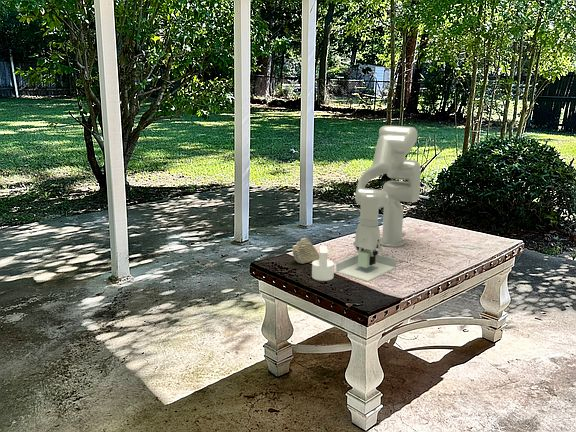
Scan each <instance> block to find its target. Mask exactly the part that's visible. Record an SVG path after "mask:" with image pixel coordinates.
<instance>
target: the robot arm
mask: <svg viewBox="0 0 576 432" xmlns="http://www.w3.org/2000/svg"><path fill="white" fill-rule="evenodd" d="M378 136H379V137H378V139H377V142H376V147H375V151H374V155H373V160H372V165H371V166H370V167H369V168H367V169H366V170H365V171H364V172H363V173H362V175H361V176H360V177H359V179H358V181H357V184H356V190H355V195H354V198H355V199H354V200H355V203H356V204H357V205H359V206H360V211H359V212H360V213H359V215H360V216H359V217H357V221H359V223H358V224H357V226H356V231H355V238H354V239H355V240H354V242H353V243H352V245H353V246H354V248H356V250H357V253H358V252H360V251H362V250H365V249H367V250H370V253H371V256H370V263H369V265H373V264H375V256H376V255H377V254H380V253H381V252H383V248H382V246H385V247H389V248H398V247H400V248H401V247H402V246H405V241H404V239H403V237H406V233H405V232H403V221H404V220H403V219H404V207H403V205H402V203H401V202H407V203H416V202H418V201H419V198H420V194H421V193H420V192H421V191H420V190H421V171H422V169H421V165H420V163H419V162H418V160H411V159H406V155H408V154H409V153H410V152H411V151H412V149H413V147H414V146H415V144H416V142H417V139H418V131H417V129H416V128H415V127H413V126H403V125H383V126H381V127H380V128H379V130H378ZM385 174H386V176H387V177H388V178H389V179H392V180H387V181H386V182H385V183H384V184H383V187H382V189H375V188H366V186H367V184H368V183H369V182H370V181H371V180H373V179H374V178H377V177H380V176H382V175H385ZM393 179H394V180H393ZM402 180H403V181H402ZM382 208H383V214H382V216H383V218H382V235H381V234H380V233H381V232H380V226H379V213H380V212H379V210H380V209H382ZM381 236H382V237H381ZM381 245H382V246H381Z"/></svg>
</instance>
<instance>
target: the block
mask: <svg viewBox="0 0 576 432" xmlns="http://www.w3.org/2000/svg"><path fill="white" fill-rule="evenodd" d="M357 254H358V266H361V267H365V268H368V267H370V266H372V265H369V263H370V256H371V253H370V250H367V249H364V250H362V251H360V252H358V251H357ZM375 264H376V256H375ZM373 265H374V264H373Z"/></svg>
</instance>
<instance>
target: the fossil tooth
mask: <svg viewBox="0 0 576 432" xmlns="http://www.w3.org/2000/svg"><path fill="white" fill-rule="evenodd" d="M291 251H292V256H293V258H294V260H295V262H297V263H298V264H301V265H303V264H306V263H310V262H311V263H312V262H313V261H315V260H319V252H318V250H317V249H316V247H315V246H314V244H313V243H312V242H311V241H310V240H309V238H307V237H303V238H300V240H298V241H296V244H295V245H294V246H293V247H292V250H291Z"/></svg>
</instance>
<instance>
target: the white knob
mask: <svg viewBox="0 0 576 432" xmlns="http://www.w3.org/2000/svg"><path fill="white" fill-rule="evenodd" d="M318 248H319V252H318V253H319V260H314V261H311V277H312V279H314V280H316V281H319V282H321V281H322V282H327V281H331V280H333V279H334V276H335V275H334V274H335V270H334V269H335V263H334V261H331V260H330V259H328V247H327V245H320V246H319V247H318Z"/></svg>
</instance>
